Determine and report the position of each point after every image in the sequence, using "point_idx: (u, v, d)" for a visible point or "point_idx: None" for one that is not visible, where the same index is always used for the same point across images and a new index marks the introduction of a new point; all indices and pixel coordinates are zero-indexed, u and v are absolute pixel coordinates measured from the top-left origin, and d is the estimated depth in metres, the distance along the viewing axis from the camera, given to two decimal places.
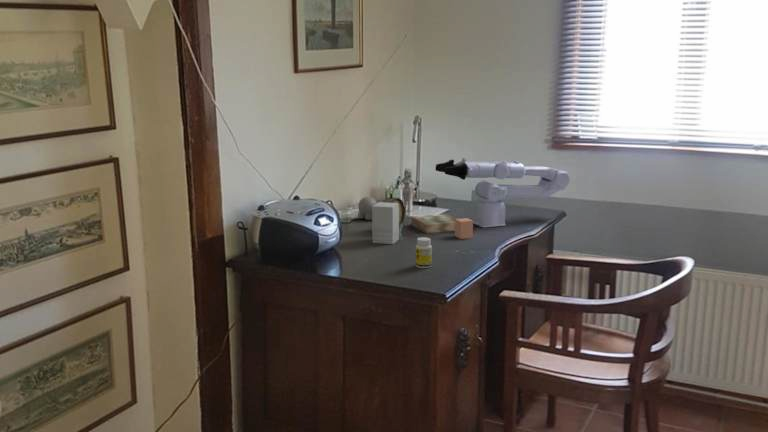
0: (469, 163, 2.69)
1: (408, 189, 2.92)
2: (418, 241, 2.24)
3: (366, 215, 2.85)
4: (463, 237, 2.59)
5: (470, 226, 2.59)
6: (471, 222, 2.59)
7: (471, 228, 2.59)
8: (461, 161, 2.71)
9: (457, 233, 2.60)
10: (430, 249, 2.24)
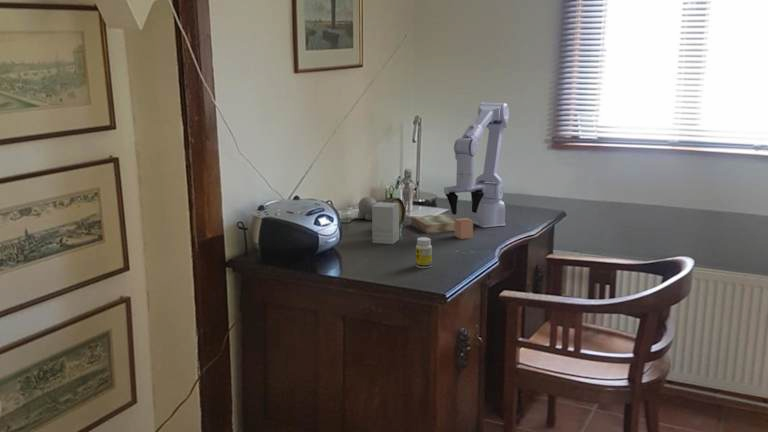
0: (471, 184, 2.55)
1: (408, 189, 2.92)
2: (418, 241, 2.24)
3: (366, 215, 2.85)
4: (463, 237, 2.59)
5: (470, 226, 2.59)
6: (471, 222, 2.59)
7: (471, 228, 2.59)
8: (465, 190, 2.55)
9: (457, 233, 2.60)
10: (430, 249, 2.24)
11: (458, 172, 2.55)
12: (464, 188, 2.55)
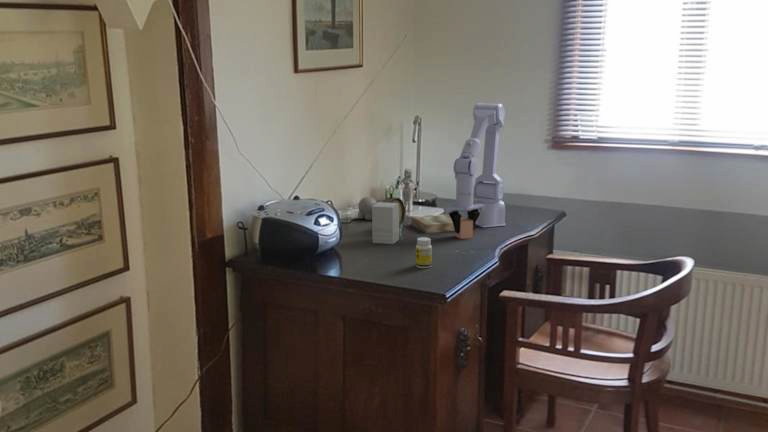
0: (471, 203, 2.57)
1: (408, 189, 2.92)
2: (418, 241, 2.24)
3: (366, 215, 2.85)
4: (463, 237, 2.59)
5: (470, 226, 2.59)
6: (471, 222, 2.59)
7: (471, 228, 2.59)
8: (465, 210, 2.56)
9: None
10: (430, 249, 2.24)
11: (458, 192, 2.56)
12: (464, 208, 2.56)
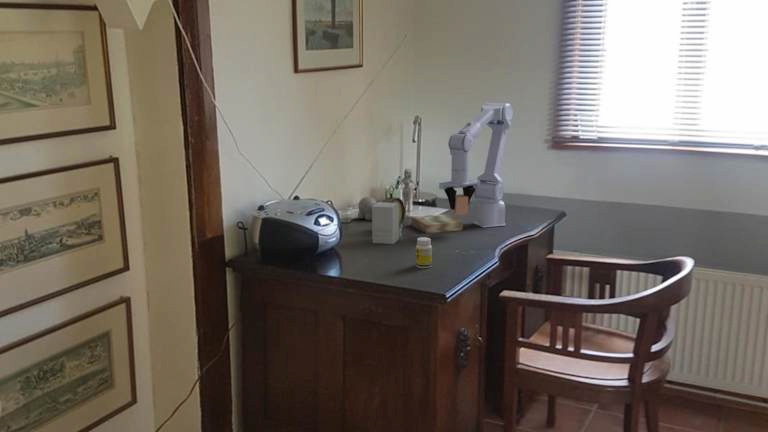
0: (466, 179, 2.58)
1: (408, 189, 2.92)
2: (418, 241, 2.24)
3: (366, 215, 2.85)
4: (458, 213, 2.59)
5: (465, 202, 2.60)
6: (466, 198, 2.59)
7: (466, 204, 2.60)
8: (460, 185, 2.57)
9: None
10: (430, 249, 2.24)
11: (452, 167, 2.57)
12: (459, 183, 2.57)
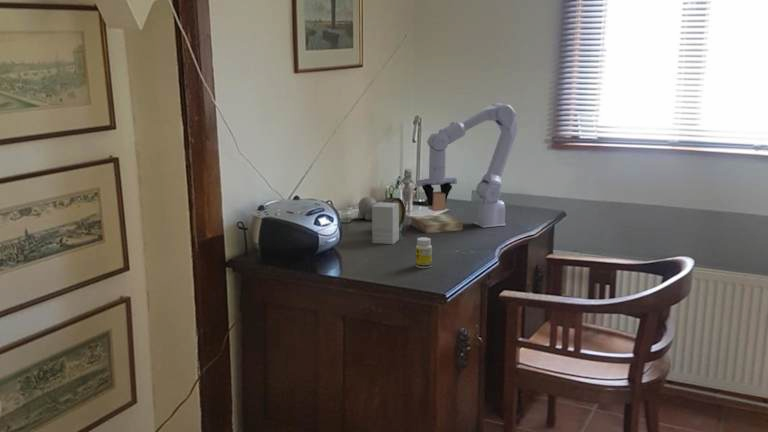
0: (443, 177, 2.69)
1: (408, 189, 2.92)
2: (418, 241, 2.24)
3: (366, 215, 2.85)
4: (436, 209, 2.71)
5: (442, 199, 2.71)
6: (443, 195, 2.71)
7: (443, 201, 2.71)
8: (437, 183, 2.68)
9: (430, 206, 2.72)
10: (430, 249, 2.24)
11: None
12: (436, 181, 2.68)
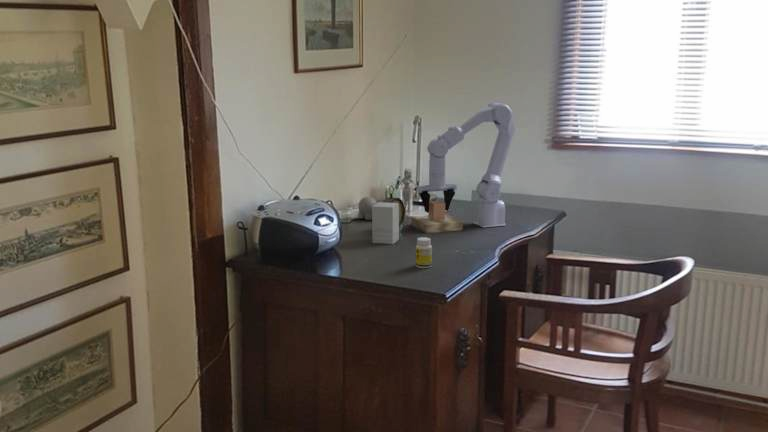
0: (443, 183, 2.70)
1: (408, 189, 2.92)
2: (418, 241, 2.24)
3: (366, 215, 2.85)
4: (436, 219, 2.71)
5: (442, 208, 2.72)
6: (443, 204, 2.71)
7: (443, 210, 2.72)
8: (437, 189, 2.69)
9: (430, 215, 2.73)
10: (430, 249, 2.24)
11: None
12: (436, 187, 2.69)
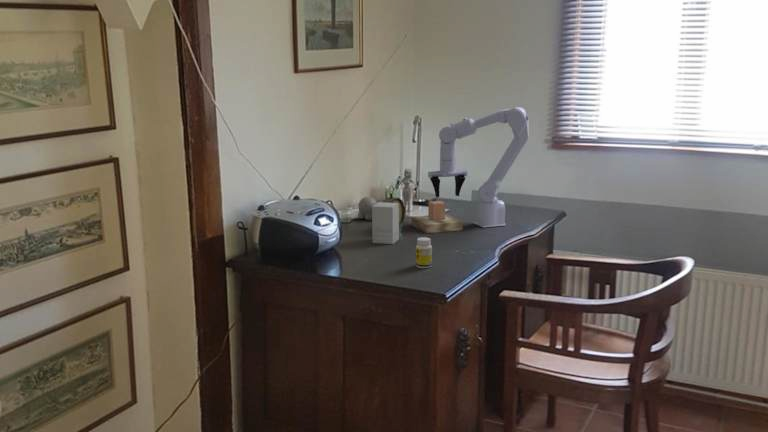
0: (453, 169, 2.76)
1: (408, 189, 2.92)
2: (418, 241, 2.24)
3: (366, 215, 2.85)
4: (436, 219, 2.71)
5: (442, 208, 2.72)
6: (443, 204, 2.71)
7: (443, 210, 2.72)
8: (447, 174, 2.76)
9: (430, 215, 2.73)
10: (430, 249, 2.24)
11: None
12: (446, 173, 2.76)
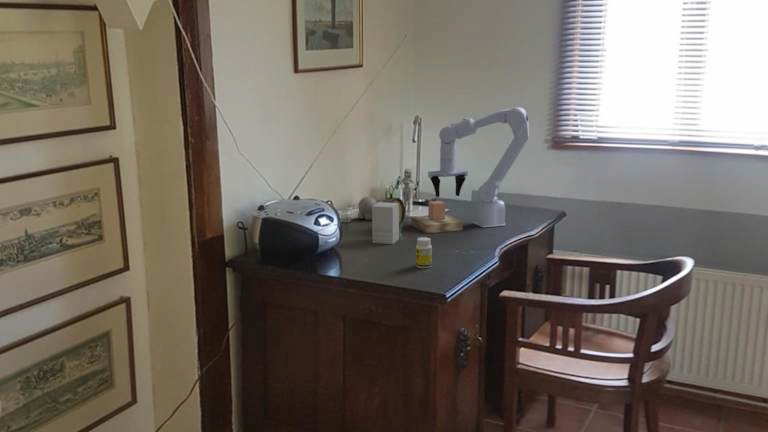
0: (453, 169, 2.76)
1: (408, 189, 2.92)
2: (418, 241, 2.24)
3: (366, 215, 2.85)
4: (436, 219, 2.71)
5: (442, 208, 2.72)
6: (443, 204, 2.71)
7: (443, 210, 2.72)
8: (447, 174, 2.76)
9: (430, 215, 2.73)
10: (430, 249, 2.24)
11: None
12: (446, 172, 2.76)
